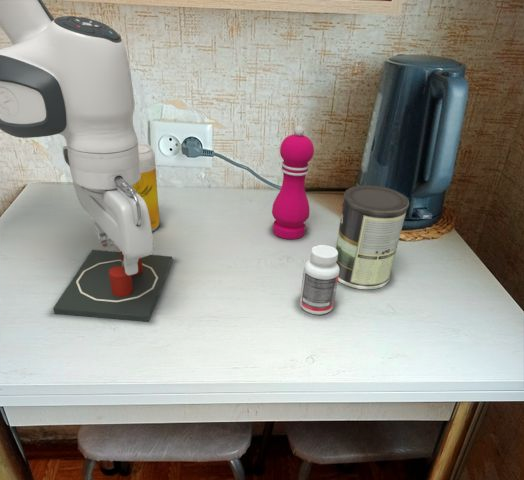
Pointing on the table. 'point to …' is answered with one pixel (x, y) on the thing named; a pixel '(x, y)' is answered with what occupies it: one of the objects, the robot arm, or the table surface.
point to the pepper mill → (293, 186)
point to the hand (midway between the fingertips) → (118, 257)
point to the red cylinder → (138, 265)
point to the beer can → (148, 183)
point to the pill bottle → (320, 280)
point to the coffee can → (369, 235)
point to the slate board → (100, 294)
